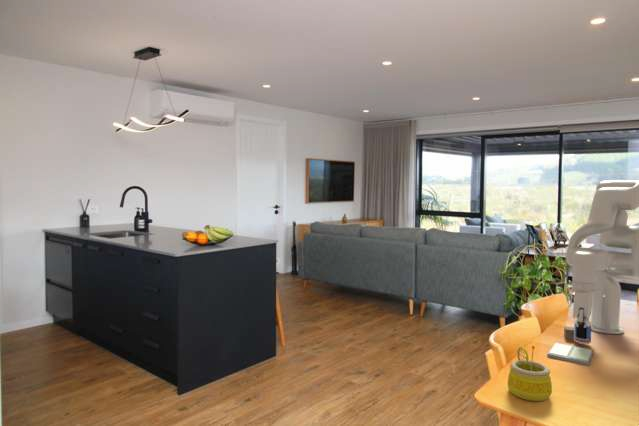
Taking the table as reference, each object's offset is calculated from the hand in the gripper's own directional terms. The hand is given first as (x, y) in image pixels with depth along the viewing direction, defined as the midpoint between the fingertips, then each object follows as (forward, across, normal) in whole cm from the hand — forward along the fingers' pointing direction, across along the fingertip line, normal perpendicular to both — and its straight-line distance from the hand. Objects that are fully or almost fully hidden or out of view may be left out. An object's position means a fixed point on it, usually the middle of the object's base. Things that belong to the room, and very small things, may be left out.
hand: (582, 335), depth 165 cm
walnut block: (+4, -5, -4) cm, 7 cm away
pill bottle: (+3, 0, 0) cm, 3 cm away
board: (+3, +14, -2) cm, 15 cm away
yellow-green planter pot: (+2, +54, -6) cm, 55 cm away
